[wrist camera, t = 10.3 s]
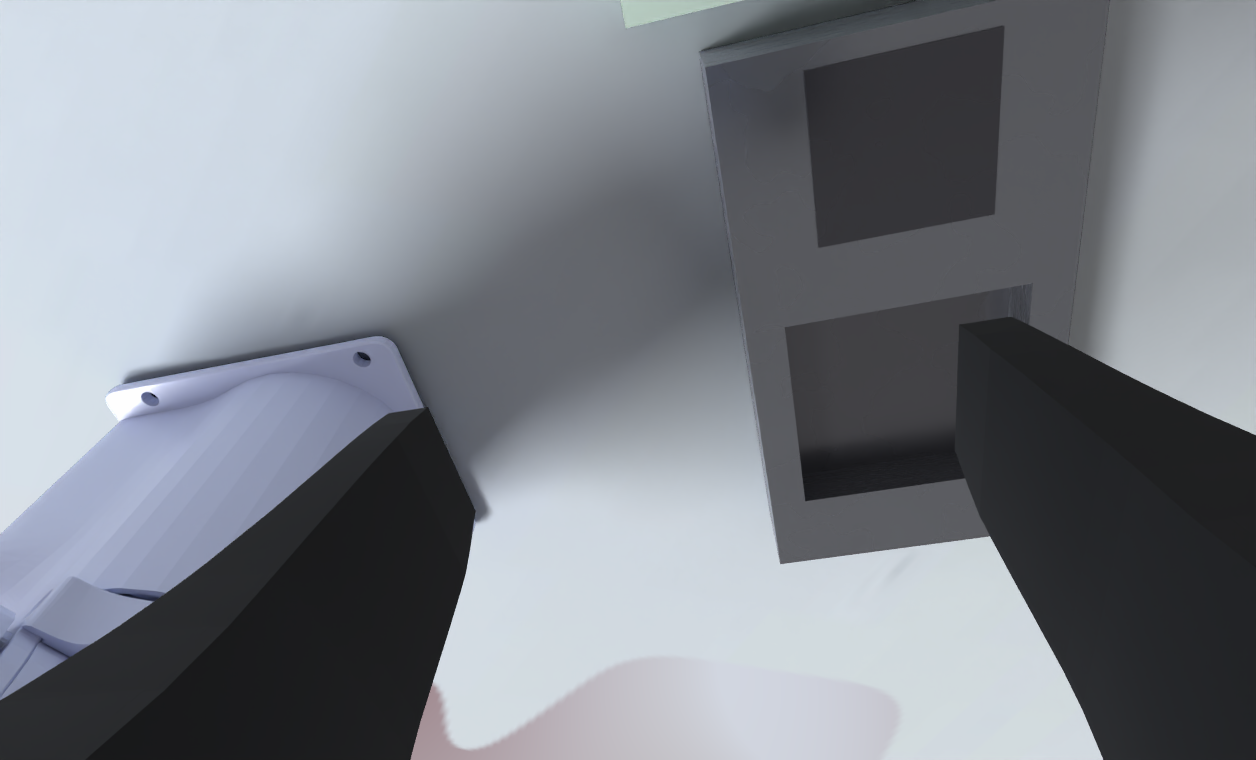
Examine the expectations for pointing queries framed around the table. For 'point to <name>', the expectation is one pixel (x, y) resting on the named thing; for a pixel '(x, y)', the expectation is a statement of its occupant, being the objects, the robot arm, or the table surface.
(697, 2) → the tray
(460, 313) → the table surface
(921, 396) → the plate with square cutouts
